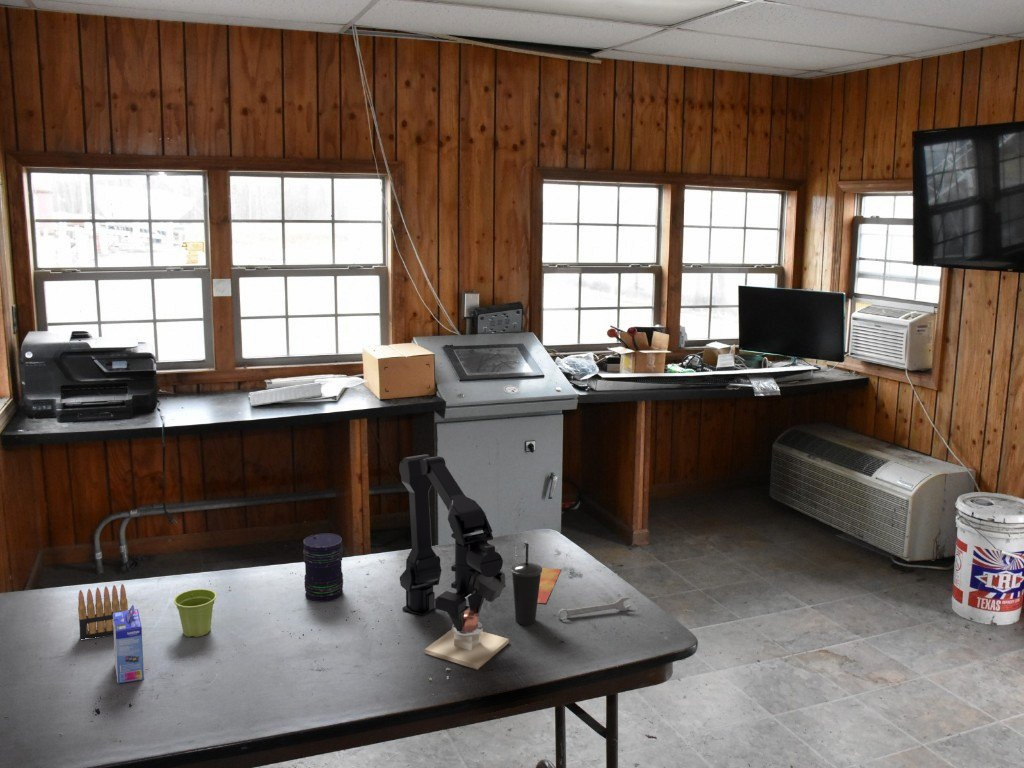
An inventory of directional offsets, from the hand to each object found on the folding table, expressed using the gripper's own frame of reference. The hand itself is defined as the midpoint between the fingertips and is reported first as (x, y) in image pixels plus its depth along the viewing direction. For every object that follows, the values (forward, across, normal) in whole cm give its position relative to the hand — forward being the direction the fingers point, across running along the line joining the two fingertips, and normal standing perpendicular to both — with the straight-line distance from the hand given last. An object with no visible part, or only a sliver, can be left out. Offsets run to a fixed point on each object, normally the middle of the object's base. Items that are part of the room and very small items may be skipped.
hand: (467, 625), depth 201 cm
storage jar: (+6, +5, +47) cm, 48 cm away
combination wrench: (+6, +31, -18) cm, 36 cm away
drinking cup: (+6, +19, -5) cm, 20 cm away
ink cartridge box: (+6, -46, +57) cm, 73 cm away
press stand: (+6, 0, 0) cm, 6 cm away
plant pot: (+6, -26, +59) cm, 65 cm away
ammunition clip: (+6, -38, +76) cm, 85 cm away
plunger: (+4, 0, 0) cm, 4 cm away
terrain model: (+6, +37, +10) cm, 39 cm away
